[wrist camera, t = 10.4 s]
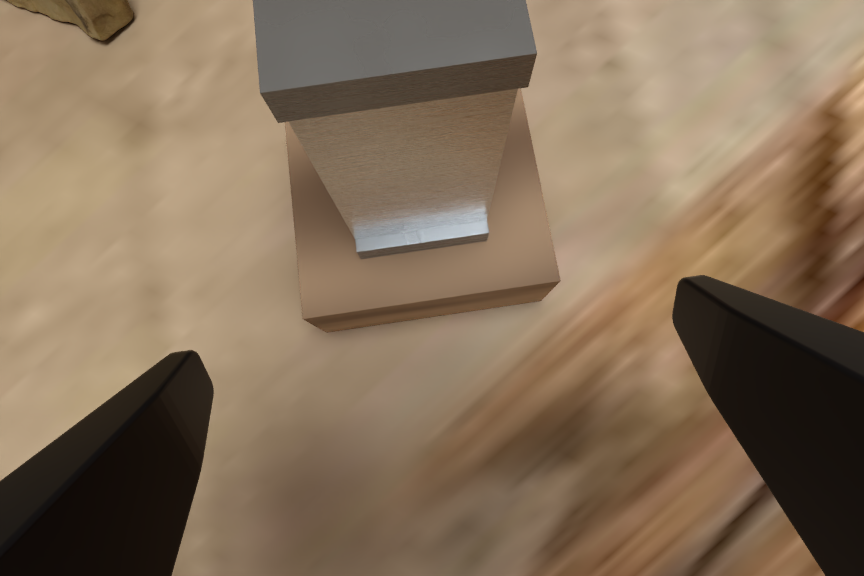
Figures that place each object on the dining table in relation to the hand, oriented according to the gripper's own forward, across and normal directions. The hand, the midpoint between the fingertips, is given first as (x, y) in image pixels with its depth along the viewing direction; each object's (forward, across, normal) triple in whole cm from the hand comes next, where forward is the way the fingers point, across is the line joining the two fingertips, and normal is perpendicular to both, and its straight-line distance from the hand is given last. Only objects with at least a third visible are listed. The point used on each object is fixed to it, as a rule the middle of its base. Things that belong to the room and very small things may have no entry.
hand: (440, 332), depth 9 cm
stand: (+15, 0, +4) cm, 16 cm away
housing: (+12, 0, +2) cm, 12 cm away
